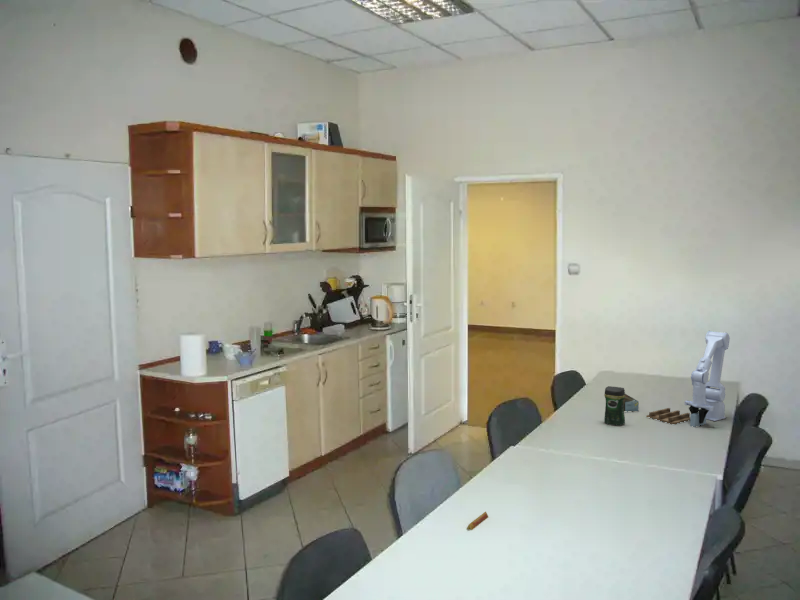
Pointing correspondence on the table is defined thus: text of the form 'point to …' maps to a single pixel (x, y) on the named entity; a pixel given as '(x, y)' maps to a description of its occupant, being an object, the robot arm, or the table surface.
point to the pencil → (477, 521)
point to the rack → (669, 416)
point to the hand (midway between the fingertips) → (698, 422)
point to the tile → (696, 420)
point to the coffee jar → (614, 405)
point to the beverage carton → (630, 404)
